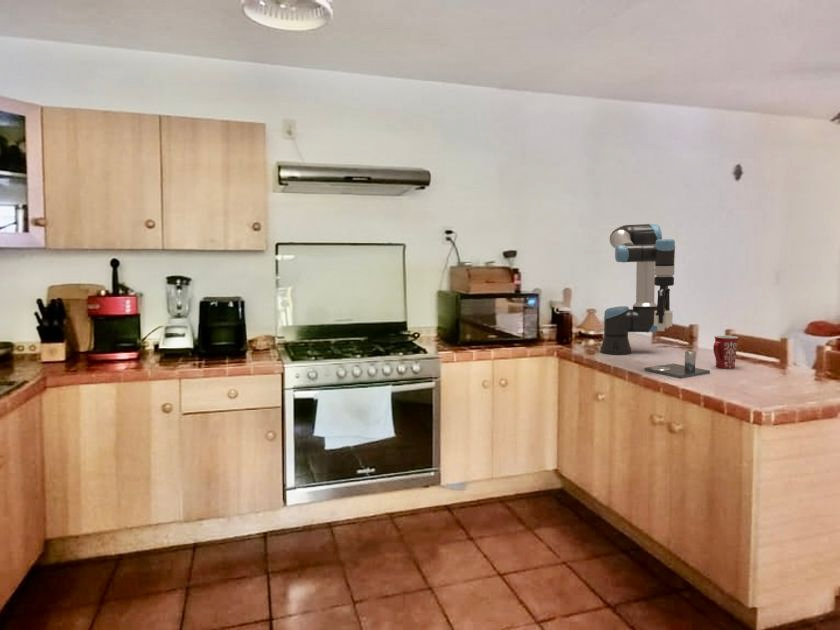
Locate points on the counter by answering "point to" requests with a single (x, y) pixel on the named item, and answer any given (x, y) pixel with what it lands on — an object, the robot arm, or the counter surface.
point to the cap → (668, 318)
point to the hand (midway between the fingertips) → (662, 329)
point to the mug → (725, 351)
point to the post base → (680, 368)
